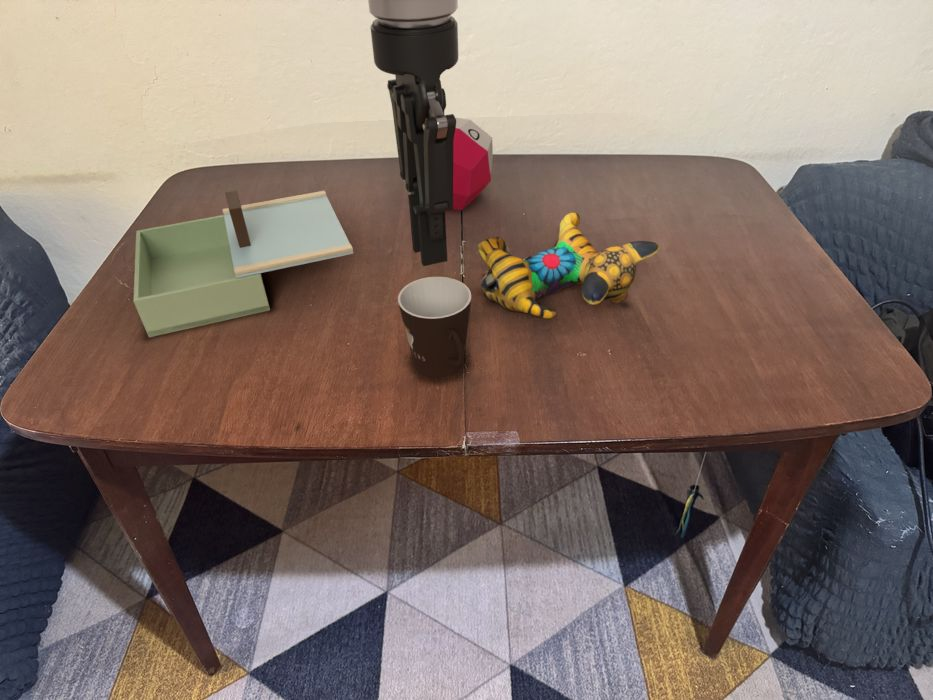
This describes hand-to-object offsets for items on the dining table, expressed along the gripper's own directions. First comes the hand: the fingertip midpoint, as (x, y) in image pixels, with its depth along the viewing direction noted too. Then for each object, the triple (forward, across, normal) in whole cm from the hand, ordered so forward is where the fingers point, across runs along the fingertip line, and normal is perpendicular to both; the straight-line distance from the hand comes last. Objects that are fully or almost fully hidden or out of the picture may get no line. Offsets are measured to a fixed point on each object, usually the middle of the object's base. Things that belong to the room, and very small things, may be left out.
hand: (429, 254), depth 70 cm
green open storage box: (+16, -32, -26) cm, 44 cm away
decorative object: (+17, -43, +18) cm, 50 cm away
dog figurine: (+17, -8, +21) cm, 28 cm away
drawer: (+10, -31, -13) cm, 36 cm away
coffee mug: (+17, 0, 0) cm, 17 cm away
